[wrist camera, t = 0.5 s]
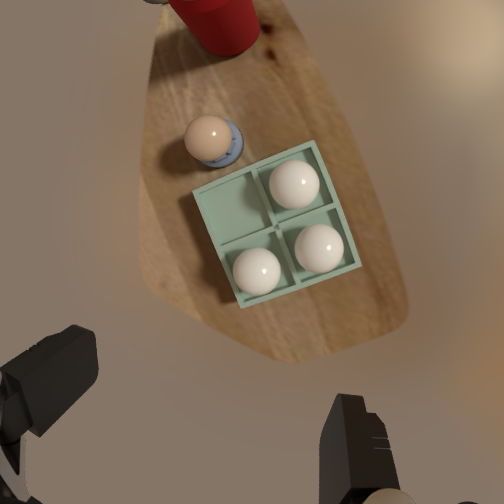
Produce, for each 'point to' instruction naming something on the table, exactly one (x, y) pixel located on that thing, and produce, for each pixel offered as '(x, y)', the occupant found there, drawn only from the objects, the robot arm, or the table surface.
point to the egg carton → (271, 221)
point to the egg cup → (233, 151)
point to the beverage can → (220, 23)
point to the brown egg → (208, 138)
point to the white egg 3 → (319, 248)
